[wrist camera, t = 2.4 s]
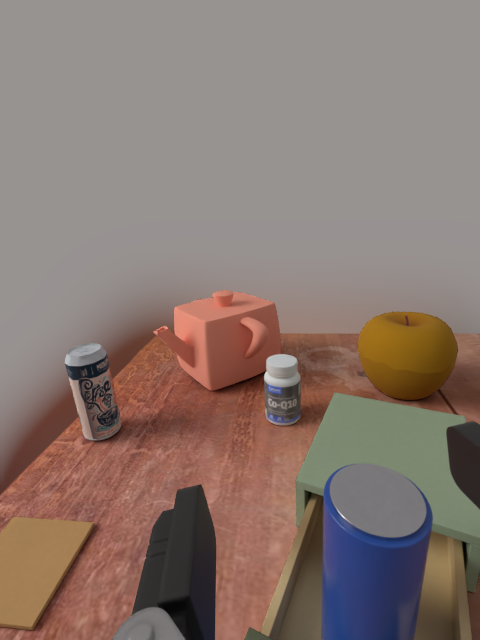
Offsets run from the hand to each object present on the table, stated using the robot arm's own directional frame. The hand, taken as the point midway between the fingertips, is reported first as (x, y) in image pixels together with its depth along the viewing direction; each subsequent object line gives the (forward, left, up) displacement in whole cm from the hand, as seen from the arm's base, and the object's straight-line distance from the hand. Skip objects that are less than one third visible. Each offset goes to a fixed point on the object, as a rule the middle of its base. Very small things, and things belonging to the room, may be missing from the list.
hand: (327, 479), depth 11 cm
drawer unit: (+20, -1, -19) cm, 28 cm away
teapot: (+36, +27, -19) cm, 50 cm away
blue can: (+6, -1, -18) cm, 19 cm away
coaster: (0, +25, -19) cm, 32 cm away
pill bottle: (+28, +12, -19) cm, 37 cm away
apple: (+41, -2, -20) cm, 46 cm away
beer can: (+16, +33, -19) cm, 42 cm away
